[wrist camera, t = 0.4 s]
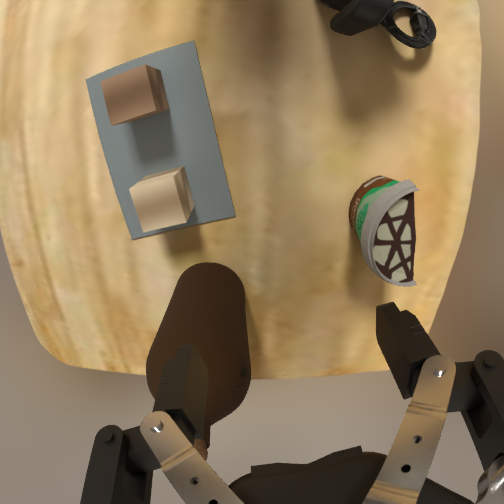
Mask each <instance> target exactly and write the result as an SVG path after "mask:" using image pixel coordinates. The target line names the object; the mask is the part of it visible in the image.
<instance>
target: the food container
mask: <svg viewBox="0 0 504 504" xmlns="http://www.w3.org/2000/svg"><path fill="white" fill-rule="evenodd" d="M418 190H419V189H417V188H416V185H415V184H414V183H413V182H412V181H411V180H410V179H408V180H404V181H401V182H399V181H396V180H393V179H390V178H387V177H384V176H377V177H373V178H371V179H370V180H368V181H366V182H365V183H363V184H362V185H361V186H360V188H359V189H358V190H357V191H356V192H355V194H354V196H353V198H352V200H351V202H350V207H349V219H350V223H351V226H352V228H353V229H354V231H355V233H356V235H357V236H358V238H359V240H360V241H361V249H362V254H363V257H364V260H365V262H366V263H367V265H368V267H369V268H370V269H371V270H372V271H373V272H374V273H375V274H376V275H378V276H379V277H380V278H382V279H383V280H385V281H387V282H388V283H391V284H394V285H398V286H404V287H407V286H415V285H417V284H416V282H415V281H414V279H413V275H414V273H413V266H414V253H415V243H416V231H415V217H414V191H418Z"/></svg>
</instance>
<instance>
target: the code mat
mask: <svg viewBox="0 0 504 504" xmlns="http://www.w3.org/2000/svg"><path fill="white" fill-rule="evenodd" d="M145 64H146V65H148V66H151V67H153V68H156V69H158V70H161V75H162V79H163V83H164V88H165V92H166V96H167V100H168V104H169V109H170V110H167V111H163V112H160V113H157V114H154V115H151V116H147V117H144V118H141V119H138V120H135V121H132V122H128V123H123V124H118V125H112V126H111V124H110V120H109V116H108V112H107V108H106V103H105V99H104V95H103V90H102V86H101V81H103V80H105V79H108V78H110V77H113V76H115V75H118V74H120V73H123V72H125V71H128V70H131V69H133V68H136V67H139V66H142V65H145ZM86 82H87V87H88V92H89V96H90V100H91V105H92V109H93V113H94V117H95V121H96V125H97V129H98V133H99V137H100V140H101V144H102V148H103V151H104V155H105V158H106V162H107V165H108V168H109V172H110V175H111V178H112V182H113V185H114V188H115V191H116V194H117V197H118V200H119V203H120V206H121V209H122V212H123V215H124V218H125V221H126V224H127V227H128V229H129V232H130V235H131V238H132V239H136V238H140V237H144V236H148V235H153V234H157V233H161V232H166V231H170V230H174V229H179V228H183V227H188V226H192V225H197V224H201V223H206V222H210V221H215V220H220V219H224V218H229V217H234V216H235V212H234V207H233V203H232V199H231V195H230V191H229V187H228V182H227V178H226V174H225V170H224V166H223V161H222V157H221V153H220V149H219V145H218V140H217V136H216V132H215V128H214V123H213V119H212V115H211V111H210V106H209V102H208V98H207V93H206V89H205V85H204V81H203V76H202V72H201V68H200V63H199V59H198V55H197V50H196V46H195V42H194V41H191V42H187V43H184V44H180V45H177V46H173V47H170V48H167V49H164V50H160V51H157V52H154V53H151V54H148V55H145V56H143V57H140V58H137V59H134V60H131V61H129V62H126V63H124V64H121V65H118V66H116V67H113V68H111V69H109V70H106V71H104V72H102V73H99V74H97V75H95V76H92V77H90V78H88V79H86ZM182 166H184V168H185V171H186V175H187V179H188V182H189V186H190V190H191V193H192V197H193V201H194V204H195V206H194V208H193V210H192V212H191V214H190V216H189V218H188V220H187V222H186V223H182V224H178V225H173V226H169V227H165V228H160V229H156V230H152V231H148V232H144V233H143V230H142V227H141V224H140V221H139V218H138V215H137V212H136V209H135V206H134V203H133V200H132V197H131V194H130V191H129V189H130V188H131V187H132V186H134V185H135V184H136V183H138V182H139V181H140V180H141V179H143V178H144V177H145V176H149V175H152V174H156V173H159V172H163V171H167V170H170V169H174V168H178V167H182Z"/></svg>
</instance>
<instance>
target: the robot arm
mask: <svg viewBox="0 0 504 504" xmlns="http://www.w3.org/2000/svg"><path fill="white" fill-rule="evenodd" d="M376 337H377V341H378V344H379V347H380V349H381V351H382V353H383V355H384V357H385V359H386V361H387V364H388V366H389V368H390V370H391V372H392V374H393V377H394V379H395V381H396V383H397V385H398V388H399V390H400V392H401V394H402V397H403V399H407V398H410V397H412V400H411V403H410V405H409V406H408V408H407V411H406V413H405V416H404V418H403V421H402V424H401V426H400V429H399V431H398V433H397V436H396V438H395V440H394V443H393V445H392V447H391V449H390V452H389V454H388V456H387V455H385V454H381V453H376V452H362V449H361V446H357V447H353V448H350V449H345V450H341V451H338V452H334V453H331V454H329V455H327V456H325V457H323V458H320V459H318V460H316V461H313V462H311V463H309V464H289V463H273V464H265V465H257V466H251V473H249V474H246V475H244V476H242V477H240V478H239V479H237V480H235V481H234V482H232V483H231V484H230V485H229V486H227V484H226V483H225V482H224V481H223V480H222V479H221V478H220V477H219V476H218V475H217V473H216V472H215V471H214V470H213V469H212V468H211V467H210V466H209V464H208V463H207V462H206V461H205V460H204V458H203V457H202V456H201V455H200V454H199V452H198V451H197V450H196V449H195V448H194V440H195V439H203V433H204V422H205V411H206V400H207V390H208V371H207V367H206V365H205V363H204V361H203V359H202V357H201V355H200V353H199V350H198V348H197V346H196V345H195V344H191V345H184V346H178V348H177V351H176V355H175V358H172V359H169V360H168V361H167V363H166V364H165V366H164V367H163V370H162V374H161V378H160V382H159V386H158V391H157V395H156V399H155V404H154V408H153V412H152V413H150V414H148V415H147V416H146V417H145V418H144V419H143V420H142V422H141V424H140V426H137V427H134V428H130V429H127V430H124V431H122V430H121V429H120V428H119V427H118V426H115V425H108V426H105V427H103V428H102V429H100V430H99V432H98V433H97V435H96V437H95V440H94V444H93V448H92V453H91V457H90V461H89V465H88V469H87V474H86V479H85V483H84V488H83V493H82V497H81V502H80V504H150V499H151V488H152V477H153V470H156V469H159V468H161V469H162V471H163V473H164V474H165V476H166V477H167V479H168V480H169V482H170V483H171V484H172V486H173V487H174V489H175V490H176V491H177V493H178V494H179V495H180V497H181V498H182V500H183V501H184V502H185V504H474V503H473V502H472V501H471V500H469V499H467V498H465V497H463V496H461V495H459V494H457V493H455V492H453V491H451V490H449V489H447V488H445V487H444V486H442V485H440V484H438V483H436V482H434V481H432V480H430V479H429V478H427V477H426V476H427V474H428V471H429V469H430V466H431V463H432V460H433V458H434V454H435V451H436V449H437V446H438V443H439V440H440V437H441V433H442V430H443V427H444V423H445V420H446V416H447V413H448V412H457V411H461V414H462V416H463V418H464V421H465V423H466V425H467V428H468V430H469V432H470V435H471V437H472V440H473V442H474V445H475V447H476V450H477V452H478V455H479V458H480V460H481V463H482V466H483V469H484V473H483V474H482V475H481V476H480V478H479V481H478V485H477V488H478V498H477V501H476V503H475V504H504V359H503V358H502V356H501V355H500V354H498V353H497V352H495V351H491V350H485V351H482V352H480V353H479V354H478V355H477V356H476V357H475V360H474V361H470V362H459V363H457V362H453V360H452V359H450V358H449V357H447V356H444V355H441V354H440V353H439V351H438V350H437V348H436V347H435V345H434V343H433V342H432V340H431V339H430V337H429V336H428V334H427V333H426V331H425V330H424V328H423V327H422V325H421V324H420V322H419V321H418V319H417V318H416V316H415V315H413V314H412V313H410V312H409V311H407V310H404V311H401V312H400V311H399V309H398V308H397V306H396V304H395V303H394V302H390V303H386V304H383V305H379V306H377V308H376Z"/></svg>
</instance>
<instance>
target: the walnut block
mask: <svg viewBox="0 0 504 504" xmlns="http://www.w3.org/2000/svg"><path fill="white" fill-rule="evenodd" d="M101 86H102V90H103V95H104V99H105V103H106V108H107V112H108V116H109V120H110V124H111V126H112V125H118V124H123V123H128V122H132V121H135V120H138V119H141V118H144V117H147V116H151V115H154V114H157V113H160V112H163V111H167V110H170V109H169V104H168V100H167V96H166V92H165V88H164V83H163V79H162V75H161V70H158V69H156V68H153V67H151V66H148V65H146V64H145V65H142V66H139V67H136V68H133V69H131V70H128V71H125V72H123V73H120V74H118V75H115V76H113V77H110V78H108V79H105V80H103V81H101Z"/></svg>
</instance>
